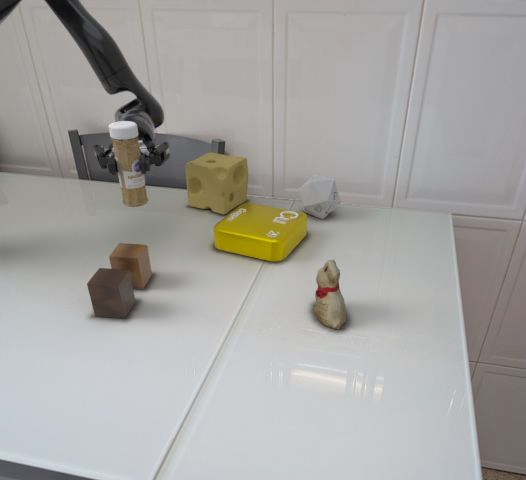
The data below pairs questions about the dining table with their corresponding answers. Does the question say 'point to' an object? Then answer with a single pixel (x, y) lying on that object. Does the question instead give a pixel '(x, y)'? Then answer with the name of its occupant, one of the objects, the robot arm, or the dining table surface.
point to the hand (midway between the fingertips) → (128, 168)
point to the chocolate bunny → (329, 296)
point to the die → (319, 196)
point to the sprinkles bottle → (128, 162)
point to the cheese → (217, 182)
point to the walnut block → (111, 293)
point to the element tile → (260, 231)
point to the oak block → (133, 262)
